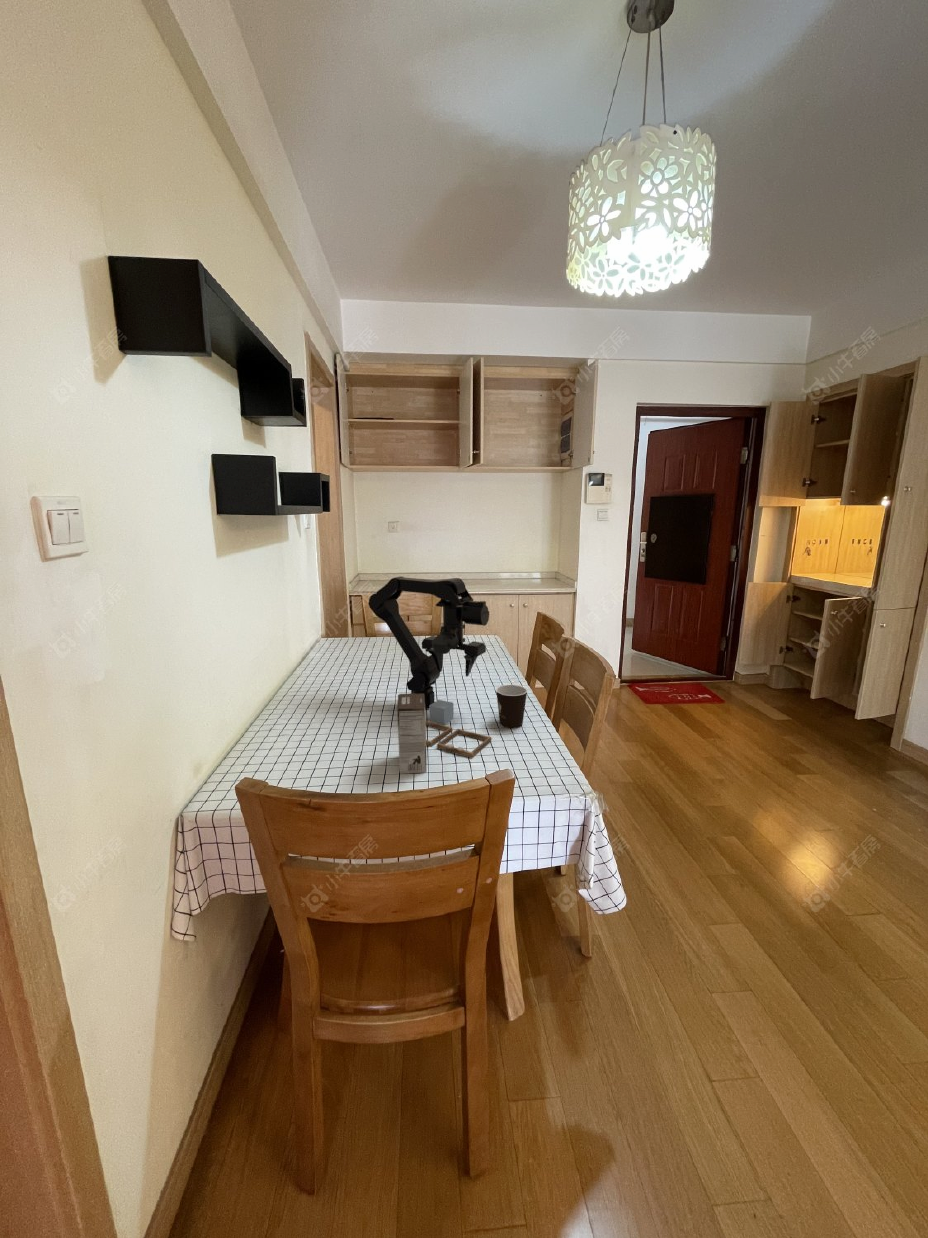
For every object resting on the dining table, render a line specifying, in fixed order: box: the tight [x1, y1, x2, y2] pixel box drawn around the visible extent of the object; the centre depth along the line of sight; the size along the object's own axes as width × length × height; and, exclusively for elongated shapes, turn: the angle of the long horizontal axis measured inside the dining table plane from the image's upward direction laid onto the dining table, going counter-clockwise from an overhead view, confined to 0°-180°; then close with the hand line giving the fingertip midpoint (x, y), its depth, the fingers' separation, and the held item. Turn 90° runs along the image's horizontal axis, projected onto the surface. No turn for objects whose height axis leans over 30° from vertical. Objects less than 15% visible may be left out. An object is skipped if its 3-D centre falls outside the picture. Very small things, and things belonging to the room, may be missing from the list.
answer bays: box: [426, 720, 492, 759], centre depth 127 cm, size 22×11×2 cm, turn 60°
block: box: [428, 699, 455, 726], centre depth 139 cm, size 5×5×5 cm
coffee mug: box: [495, 684, 528, 729], centre depth 137 cm, size 12×9×10 cm
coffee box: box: [396, 693, 427, 774], centre depth 113 cm, size 9×6×16 cm
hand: (453, 673), depth 142 cm, fingers open, 9 cm apart
